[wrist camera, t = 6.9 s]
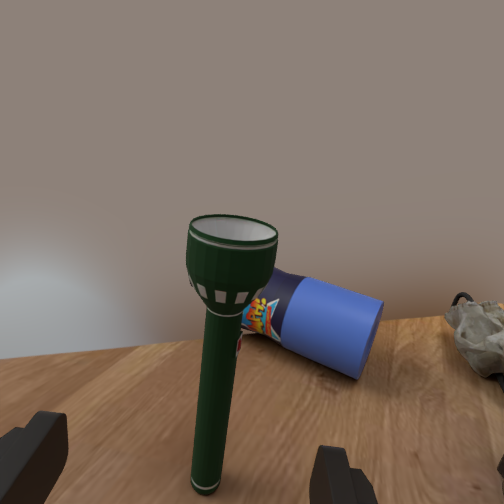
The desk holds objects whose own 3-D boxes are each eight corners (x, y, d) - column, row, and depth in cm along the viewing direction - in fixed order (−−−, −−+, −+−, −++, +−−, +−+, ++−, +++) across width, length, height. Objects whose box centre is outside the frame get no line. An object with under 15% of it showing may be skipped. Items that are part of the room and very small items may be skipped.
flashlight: (226, 529, 24) (269, 249, 17) (157, 503, 25) (171, 228, 18) (247, 464, 29) (287, 224, 22) (187, 445, 30) (208, 209, 23)
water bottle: (372, 347, 46) (211, 284, 56) (389, 285, 41) (212, 230, 52) (350, 398, 39) (171, 315, 49) (368, 330, 34) (167, 255, 45)
